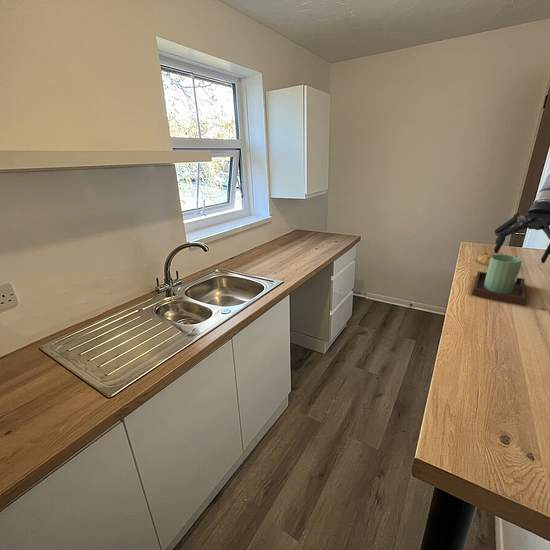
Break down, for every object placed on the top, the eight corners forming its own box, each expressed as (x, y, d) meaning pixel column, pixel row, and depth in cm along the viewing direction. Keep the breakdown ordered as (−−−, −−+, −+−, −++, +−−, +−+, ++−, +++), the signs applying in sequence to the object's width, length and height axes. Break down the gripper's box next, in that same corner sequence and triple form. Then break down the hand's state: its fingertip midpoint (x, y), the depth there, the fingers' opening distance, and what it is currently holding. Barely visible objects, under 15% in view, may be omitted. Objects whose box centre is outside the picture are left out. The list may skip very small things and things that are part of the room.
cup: (505, 284, 105) (513, 254, 101) (518, 294, 98) (527, 263, 94) (479, 283, 107) (486, 254, 102) (490, 293, 99) (498, 262, 95)
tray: (476, 278, 113) (478, 271, 112) (522, 286, 105) (524, 278, 104) (471, 296, 100) (473, 288, 99) (523, 306, 92) (525, 298, 91)
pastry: (507, 266, 121) (510, 258, 120) (495, 269, 120) (497, 260, 118) (486, 259, 130) (488, 251, 128) (474, 261, 128) (476, 253, 126)
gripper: (593, 217, 99) (565, 271, 97) (505, 208, 118) (480, 253, 116) (595, 203, 94) (565, 259, 92) (503, 196, 113) (476, 242, 111)
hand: (517, 256), depth 104 cm, fingers open, 13 cm apart
